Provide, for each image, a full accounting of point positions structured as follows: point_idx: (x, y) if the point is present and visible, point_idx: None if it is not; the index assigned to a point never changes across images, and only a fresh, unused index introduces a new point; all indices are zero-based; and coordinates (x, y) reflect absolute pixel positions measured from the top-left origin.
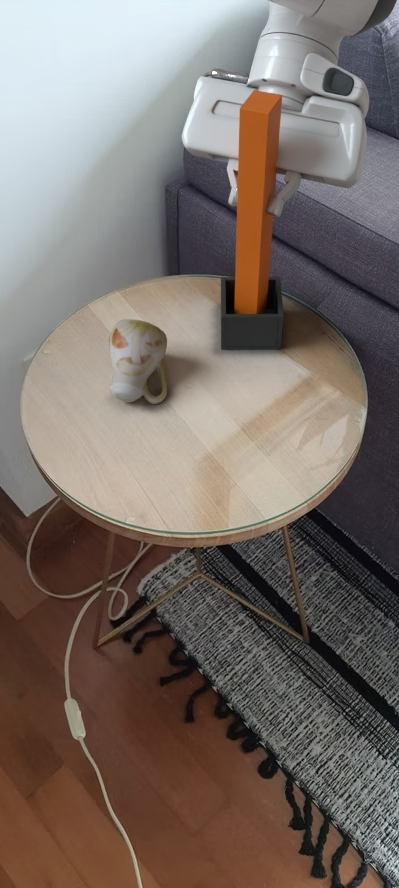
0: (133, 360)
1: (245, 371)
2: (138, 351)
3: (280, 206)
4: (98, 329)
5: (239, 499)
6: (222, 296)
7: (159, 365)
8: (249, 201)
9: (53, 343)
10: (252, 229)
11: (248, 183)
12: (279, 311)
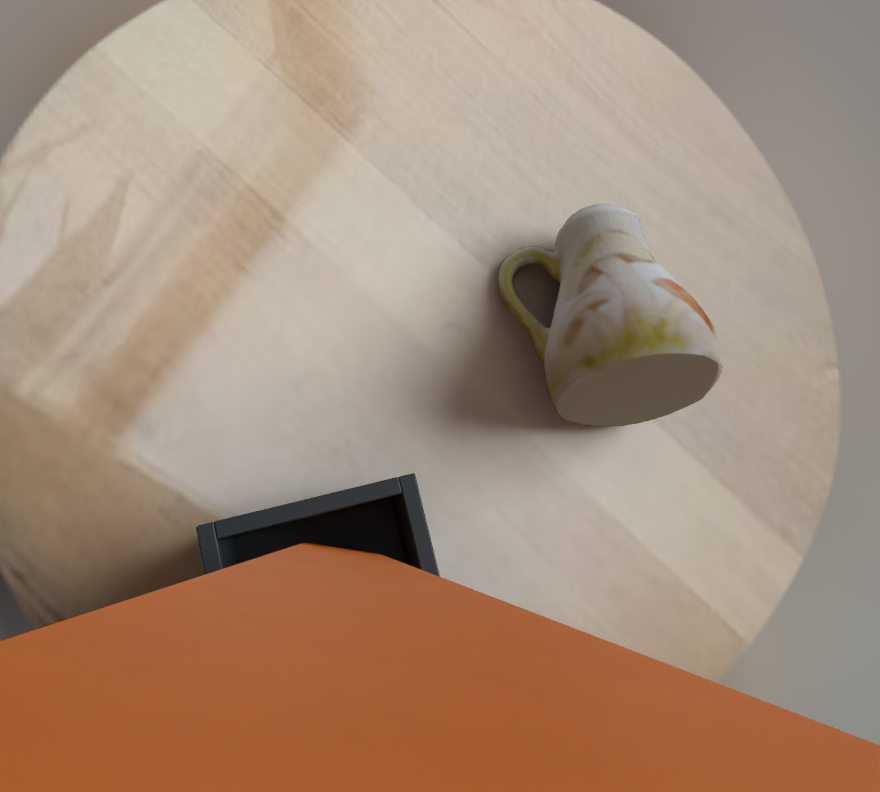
0: (617, 260)
1: (311, 415)
2: (616, 277)
3: None
4: (751, 484)
5: (250, 29)
6: None
7: (545, 331)
8: (368, 572)
9: (833, 405)
10: (332, 559)
11: (397, 585)
12: (215, 552)
